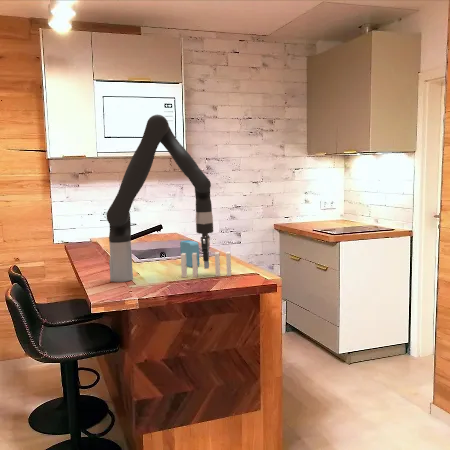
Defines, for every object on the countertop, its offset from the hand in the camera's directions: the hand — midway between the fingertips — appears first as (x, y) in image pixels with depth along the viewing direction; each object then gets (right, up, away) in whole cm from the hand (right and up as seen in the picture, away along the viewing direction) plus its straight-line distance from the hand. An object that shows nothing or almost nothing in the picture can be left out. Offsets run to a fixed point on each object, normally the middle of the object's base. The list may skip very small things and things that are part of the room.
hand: (206, 259), depth 224 cm
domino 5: (+10, -7, 0) cm, 12 cm away
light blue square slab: (-9, -5, +27) cm, 29 cm away
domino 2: (-5, -7, +1) cm, 9 cm away
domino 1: (-10, -7, +1) cm, 12 cm away
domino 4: (+5, -7, +1) cm, 9 cm away
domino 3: (0, -3, 0) cm, 3 cm away
